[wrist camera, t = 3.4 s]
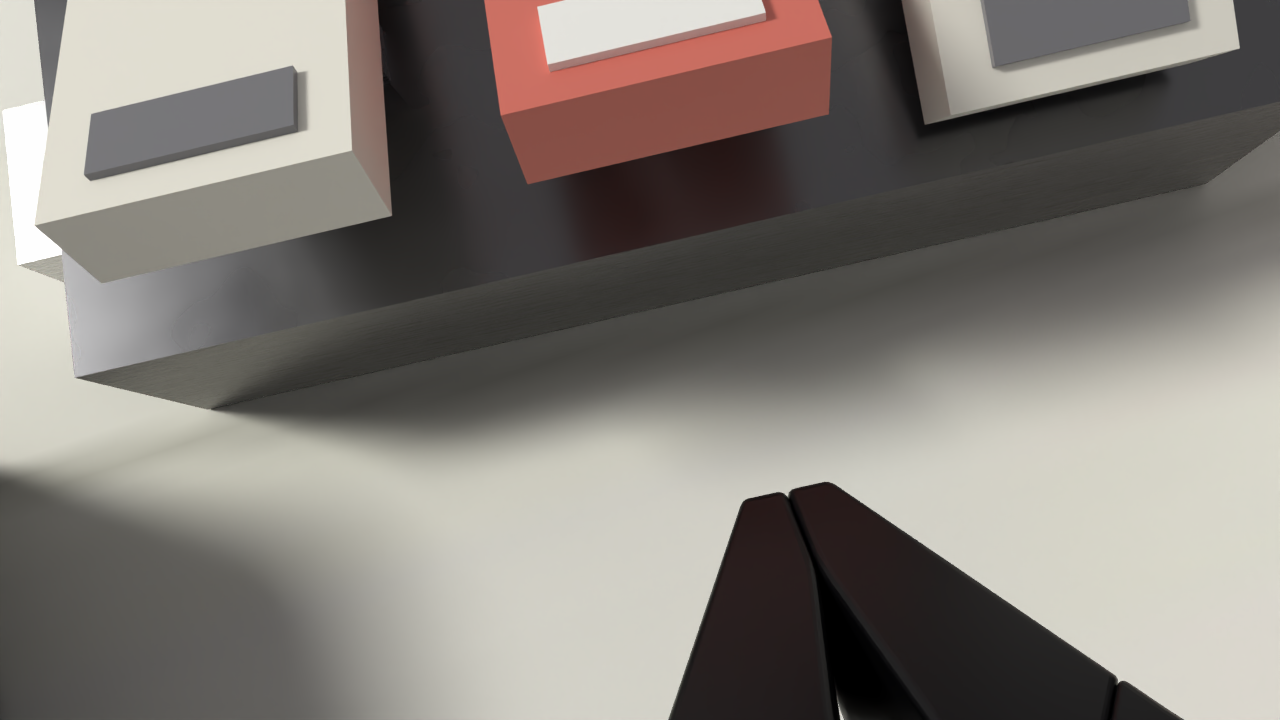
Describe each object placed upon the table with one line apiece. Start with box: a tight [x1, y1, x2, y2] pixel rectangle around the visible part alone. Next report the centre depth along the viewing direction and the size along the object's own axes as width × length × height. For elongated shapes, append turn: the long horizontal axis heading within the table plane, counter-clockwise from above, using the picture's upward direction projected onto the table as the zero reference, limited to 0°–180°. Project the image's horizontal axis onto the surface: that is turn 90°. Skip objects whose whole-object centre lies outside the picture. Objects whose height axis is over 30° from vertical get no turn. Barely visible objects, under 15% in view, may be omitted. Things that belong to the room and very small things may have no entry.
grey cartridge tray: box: [3, 0, 1280, 409], centre depth 21 cm, size 10×26×6 cm, turn 102°
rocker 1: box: [34, 0, 392, 283], centre depth 17 cm, size 9×5×2 cm, turn 13°
